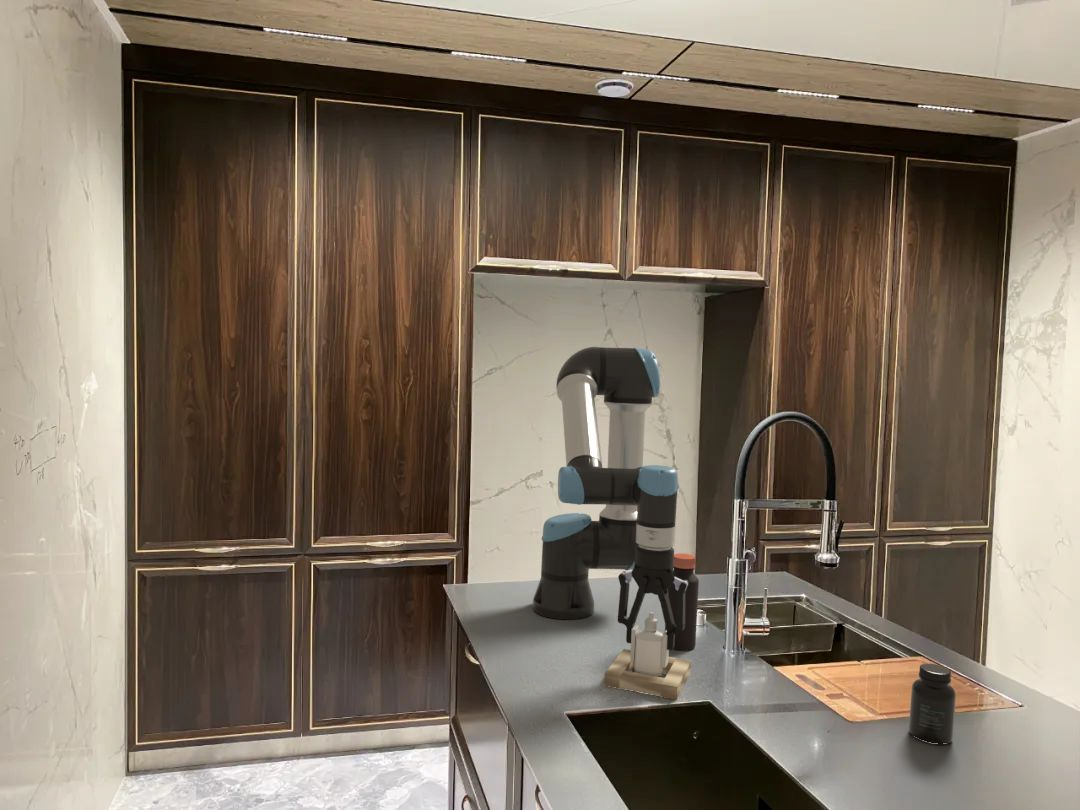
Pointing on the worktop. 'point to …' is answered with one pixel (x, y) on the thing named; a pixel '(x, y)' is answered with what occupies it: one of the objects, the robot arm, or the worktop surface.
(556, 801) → the worktop surface
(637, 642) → the eye dropper bottle
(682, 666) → the square wooden frame
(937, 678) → the supplement bottle
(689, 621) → the vinegar
